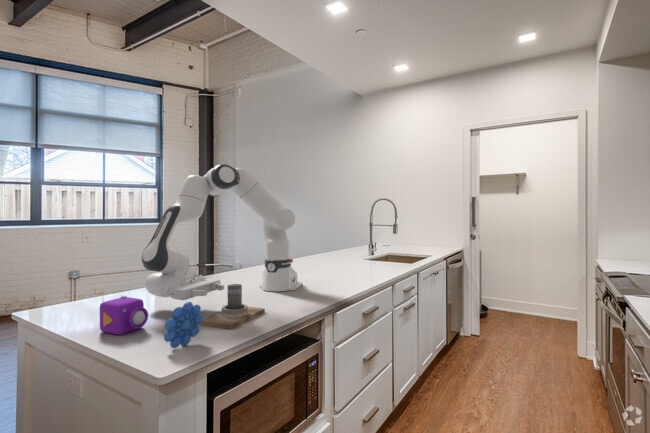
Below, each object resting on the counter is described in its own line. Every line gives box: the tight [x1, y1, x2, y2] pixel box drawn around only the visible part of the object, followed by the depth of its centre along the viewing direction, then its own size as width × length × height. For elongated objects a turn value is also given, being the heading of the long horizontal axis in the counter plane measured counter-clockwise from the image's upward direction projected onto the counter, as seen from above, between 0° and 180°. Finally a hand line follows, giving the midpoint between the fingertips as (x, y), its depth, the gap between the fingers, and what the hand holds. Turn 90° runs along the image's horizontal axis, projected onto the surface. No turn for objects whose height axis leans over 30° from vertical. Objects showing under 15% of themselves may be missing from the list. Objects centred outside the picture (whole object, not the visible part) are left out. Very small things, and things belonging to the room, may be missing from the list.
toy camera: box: [99, 295, 149, 336], centre depth 113 cm, size 11×14×10 cm
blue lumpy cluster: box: [163, 301, 204, 349], centre depth 101 cm, size 12×7×12 cm, turn 144°
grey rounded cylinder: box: [227, 283, 243, 310], centre depth 126 cm, size 5×5×10 cm
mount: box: [200, 303, 266, 330], centre depth 126 cm, size 20×12×4 cm, turn 159°
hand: (214, 290), depth 129 cm, fingers open, 8 cm apart
